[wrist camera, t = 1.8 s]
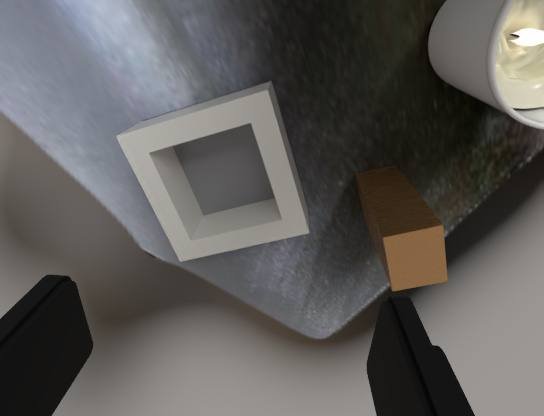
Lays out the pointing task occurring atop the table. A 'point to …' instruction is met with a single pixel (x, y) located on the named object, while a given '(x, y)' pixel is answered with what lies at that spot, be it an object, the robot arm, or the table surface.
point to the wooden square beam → (402, 229)
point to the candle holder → (493, 53)
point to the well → (220, 173)
